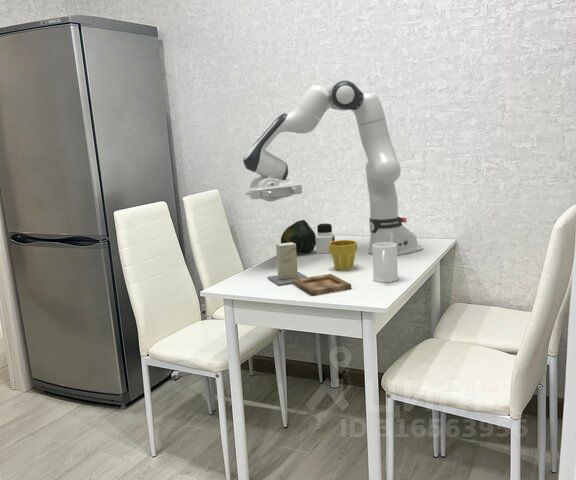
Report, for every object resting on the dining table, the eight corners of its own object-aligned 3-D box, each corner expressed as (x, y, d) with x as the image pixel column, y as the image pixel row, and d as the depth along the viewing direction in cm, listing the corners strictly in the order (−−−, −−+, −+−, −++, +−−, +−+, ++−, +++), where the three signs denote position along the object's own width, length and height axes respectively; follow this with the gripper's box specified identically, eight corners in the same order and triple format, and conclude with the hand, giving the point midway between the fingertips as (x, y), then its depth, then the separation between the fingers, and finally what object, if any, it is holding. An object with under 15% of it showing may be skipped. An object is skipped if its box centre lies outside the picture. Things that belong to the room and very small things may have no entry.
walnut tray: (330, 278, 201) (330, 273, 200) (351, 289, 186) (351, 284, 186) (293, 284, 196) (293, 279, 196) (311, 296, 181) (311, 291, 181)
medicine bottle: (333, 253, 239) (331, 225, 236) (316, 254, 240) (314, 225, 238) (335, 249, 246) (333, 222, 243) (318, 250, 247) (317, 222, 245)
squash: (271, 240, 247) (283, 216, 237) (298, 236, 255) (312, 213, 246) (286, 266, 240) (299, 242, 230) (314, 260, 249) (328, 237, 239)
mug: (395, 285, 186) (394, 249, 184) (369, 285, 189) (367, 249, 187) (400, 276, 197) (399, 241, 195) (375, 275, 200) (373, 241, 198)
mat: (298, 273, 210) (298, 271, 210) (311, 280, 199) (311, 279, 199) (267, 278, 206) (267, 276, 206) (278, 286, 195) (278, 284, 195)
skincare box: (281, 280, 200) (279, 246, 198) (277, 277, 204) (275, 244, 202) (298, 277, 202) (296, 243, 200) (294, 274, 206) (291, 241, 204)
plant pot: (355, 272, 207) (353, 245, 205) (327, 271, 210) (325, 245, 208) (360, 265, 216) (359, 239, 214) (334, 264, 220) (332, 239, 218)
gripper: (243, 184, 218) (254, 187, 206) (293, 179, 225) (307, 181, 212) (245, 201, 220) (255, 204, 207) (294, 195, 226) (308, 198, 214)
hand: (282, 192), depth 210 cm, fingers open, 8 cm apart
